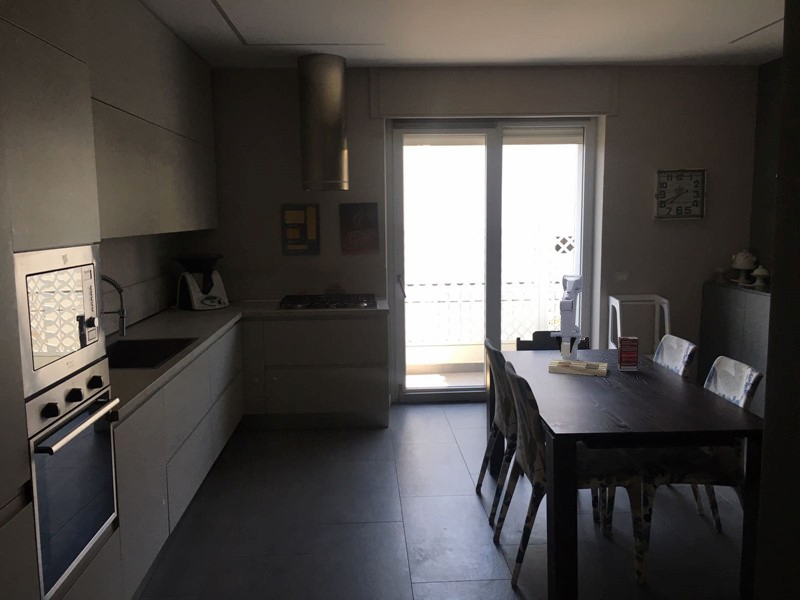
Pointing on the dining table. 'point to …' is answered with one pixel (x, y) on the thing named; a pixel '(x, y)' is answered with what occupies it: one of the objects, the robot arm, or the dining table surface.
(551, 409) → the dining table surface
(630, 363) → the supplement box
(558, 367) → the socket block
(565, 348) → the plug
